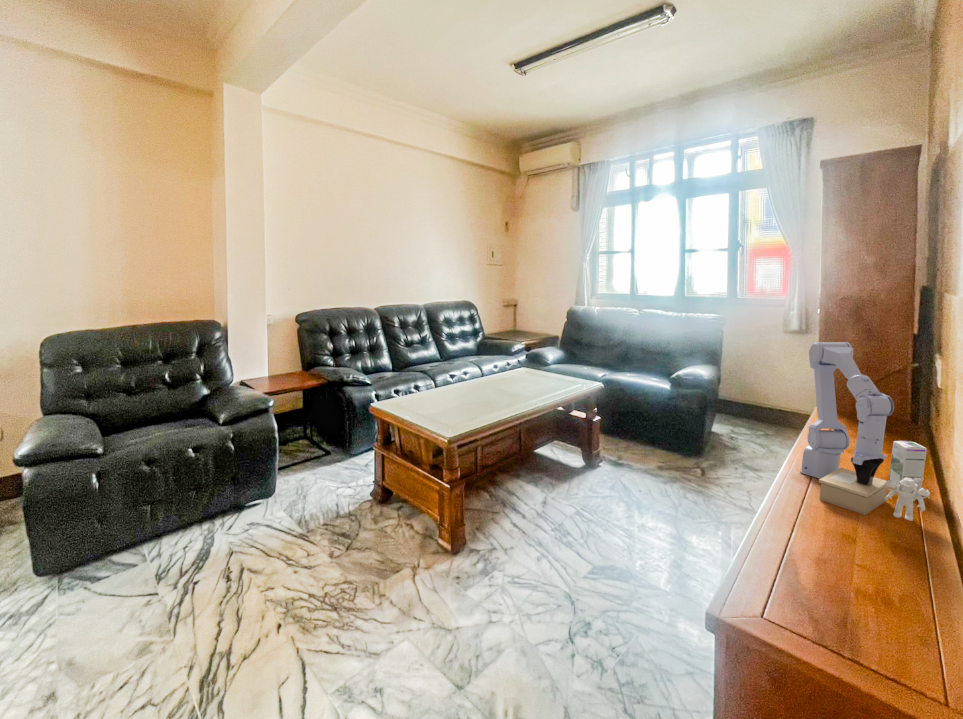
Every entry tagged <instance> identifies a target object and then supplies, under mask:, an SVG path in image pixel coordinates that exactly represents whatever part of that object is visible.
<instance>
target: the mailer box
mask: <svg viewBox="0 0 963 719" xmlns="http://www.w3.org/2000/svg"><path fill="white" fill-rule="evenodd" d="M887 488H889V487H883V488H882V489H880V490H878V491H877V492H875V493H874V494H872V495H871V496H869V497H868V498H867V497H864V496H861V495H858V494H855V493H851V492H848V491H845V490H842V489H839V488H836V487H833V486H829V485H826V484H823V483H821V485H820V492H819V493H820V494H819V500H821V501H823V502H827V503H829V504H832V505H834V506H836V507H841V508H843V509H846V510H849V511H852V512H855V513H858V514H860V515H865V516H867V515H868V514H869V513H871V512H872V511H873V510H875V509H877V508H878V507H880V506H882V505H883V504H884V503H886V502H887V501H886V500H885V497H886V496H887V495H888V494H887V493H888V489H887Z"/></svg>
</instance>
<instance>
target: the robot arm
mask: <svg viewBox="0 0 963 719" xmlns="http://www.w3.org/2000/svg"><path fill="white" fill-rule="evenodd" d="M854 351H855V350H854V349H853V346H852V344H851V343H849V342H848V341H842V342H839V341H837V342H835V341H834V342H829V341H828V342H826V341H824V342H819V341H815V342H813V343H812V344H811V346H810V348H809V350H808V357H809V367H810V369H813V376H814V389H815V400H816V401H815V403H816V414H817V415H816V416H817V420H816V421H814V422H812V423H811V424H810V425H809V426H808V432H807V443H808V445H807V446H806V447H805V449H804V450H803V454H802V461H801V462H802V463H801V470H800V473H801V474H804V475H807V476H809V477H814V478H817V479H818V480H819V479H821V478H823V477H825V476H827V475H829V474H830V473H832V472H834V471H836V470H838V469H840V466H841V465H840V463H841V456H842V454H844V452H845V450H847V449H848V448H849V446H850V443H851V439H850V435H849V433H848V429H847V426H846V425H844V424H843V423H841V422H840V421H839V420H838V411H837V410H838V409H837V402H836V400H837V398H836V387H835V377H834V373H835V371H836V370H837V369H839V371H840V372H841V373H842V375H843V376H844V377H845V378H846V379H847V381H846V387H847V389H848V390H849V392H850V393H851V394H852V396H853V397H854V400H855V401H856V402H855V410H856V418H857V420H858V425H857V435H856V441H855V448H854V450H853V452H854V453H853V456H852V457H851V458H850V461H851V464H852V465H853V467H854V470H855V471H854V472H856V476H857V481H858V483H861V484H865V485H867V484H868V482H869V480H870V476H873V477H875V475H876V472H877V471H878V469H879V467H880V466H881V465H882V463H884V460H886V459H888V455H887V454H883V450H884V449H883V446H884V440H885V432H886V427H887V426H886V424H887V418H888V417H890V416H891V415H892V414H893V413H894V410H895V404H894V403H895V402H894V400H893V399H892V398H891V396H890V395H887V394H885V393H883V392H880V390H879V389H878V387H877V386H876V385H875V384H874V381H872V380H871V378H870V377H869V376H868V375H865V374H862V373H861V372H862V371H860V369H859V366H858V365H857V363H856V362H855V359H854V358H853V357H854ZM825 429H826V430H825Z"/></svg>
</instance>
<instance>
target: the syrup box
mask: <svg viewBox="0 0 963 719" xmlns="http://www.w3.org/2000/svg"><path fill="white" fill-rule="evenodd" d="M927 450H928V448H927V447H925V446H923V445H921V444H920V443H917V442H915V441H911V440H893V442H892V450H891V458H890V467H889V474H888V480H890V481H895V482H894V483H896V485H899V483H900V482H899V481H901V480H903V479H904V478H911V479H913V480H915V479H914V478H922V477H923V478H924V473H925V467H926V466H925V465H926V457H927V452H928V451H927ZM921 480H922V479H921ZM890 481H889V482H890ZM917 481H918V480H917ZM923 481H924V479H923V480H922V481H918V482H915V481H914V483H915V484H917V487H916V489H917V491H918V490H919V489H920V488H923Z"/></svg>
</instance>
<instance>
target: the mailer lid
mask: <svg viewBox="0 0 963 719" xmlns="http://www.w3.org/2000/svg"><path fill="white" fill-rule="evenodd" d="M886 482H887V480H885V479H882V478H877V477H875V476H874V477H873V476H870V480H869V482H868V484H867V485H865V484H861V483H858V481H857V476H856V471H853V470H850V469H846V468H843V467H839V469H838V470H836V471H834V472H832V473H830V474H829V475H827V476H825V477H823V478H821V479H819V478H818V483H823V484H826V485H829V486H833V487H836V488H839V489H842V490H845V491H848V492H851V493H855V494H858V495H861V496H864V497H867V498H868V497H869V496H871V495H872V494H874V493H875V492H877V491H878V490H880V489H882V488H883V487H885V485H886V484H885V483H886ZM888 482H889V481H888Z"/></svg>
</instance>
